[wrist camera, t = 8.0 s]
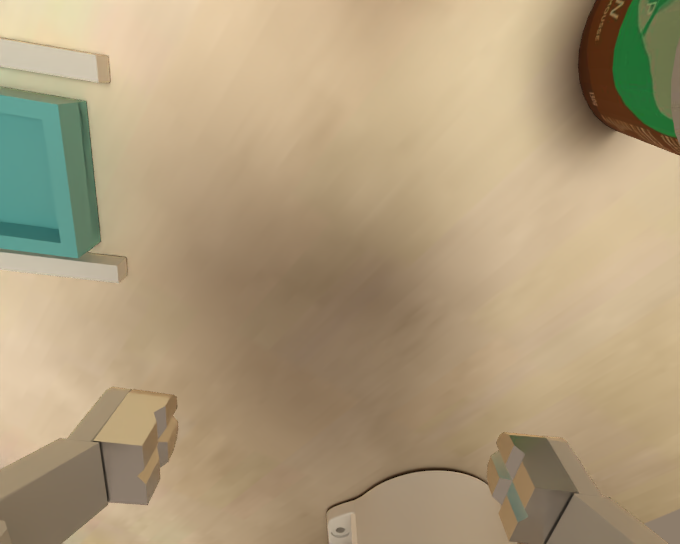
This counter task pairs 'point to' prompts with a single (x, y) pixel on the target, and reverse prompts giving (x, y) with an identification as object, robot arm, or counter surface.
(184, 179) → the counter surface
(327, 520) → the robot arm
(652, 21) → the food container
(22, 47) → the overhang dock
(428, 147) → the counter surface
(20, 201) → the teal tray
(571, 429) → the counter surface
